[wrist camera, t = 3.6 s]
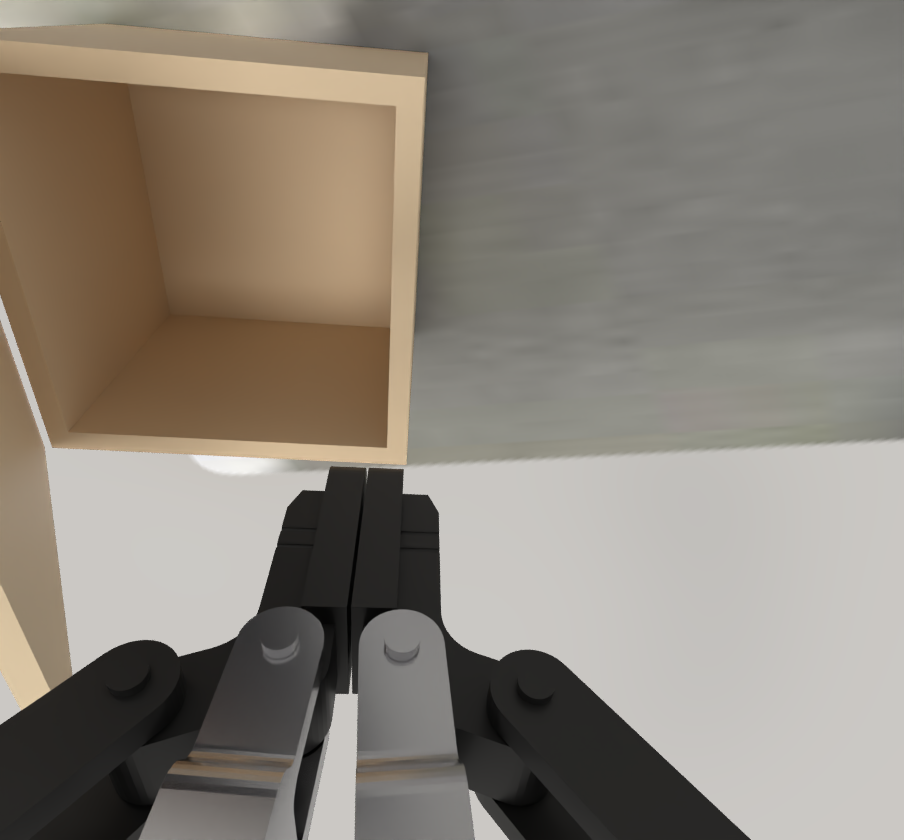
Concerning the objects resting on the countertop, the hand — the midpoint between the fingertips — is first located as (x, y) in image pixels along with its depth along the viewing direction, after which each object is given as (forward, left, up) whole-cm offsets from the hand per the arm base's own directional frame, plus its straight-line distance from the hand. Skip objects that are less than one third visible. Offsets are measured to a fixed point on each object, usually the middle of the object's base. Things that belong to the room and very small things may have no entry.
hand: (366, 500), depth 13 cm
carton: (+6, 0, -22) cm, 23 cm away
